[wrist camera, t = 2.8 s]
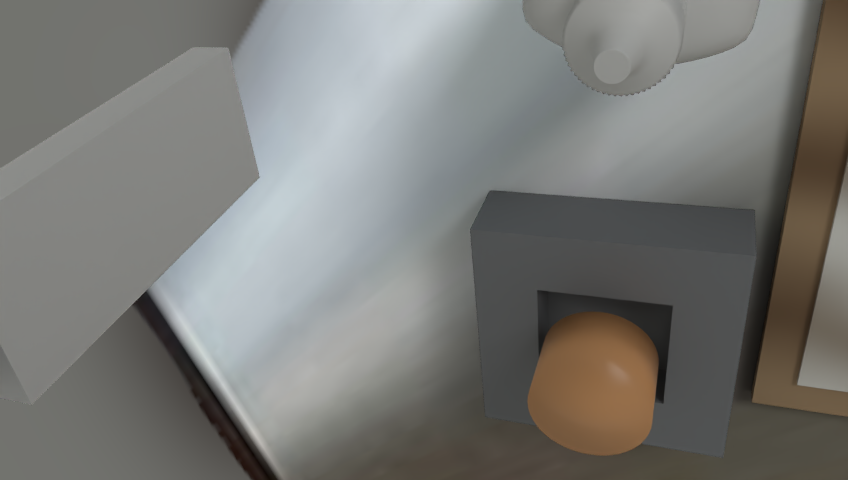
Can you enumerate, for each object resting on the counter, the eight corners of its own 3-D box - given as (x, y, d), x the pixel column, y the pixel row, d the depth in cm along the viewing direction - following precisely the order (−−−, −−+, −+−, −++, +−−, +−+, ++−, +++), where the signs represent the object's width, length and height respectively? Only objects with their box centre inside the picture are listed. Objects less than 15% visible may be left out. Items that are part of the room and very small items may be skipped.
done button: (542, 305, 29) (525, 357, 27) (662, 319, 28) (656, 375, 25) (543, 389, 31) (528, 443, 29) (655, 406, 30) (648, 465, 28)
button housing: (489, 190, 31) (470, 229, 29) (754, 210, 28) (756, 256, 26) (501, 371, 37) (485, 417, 34) (723, 405, 33) (723, 457, 31)
